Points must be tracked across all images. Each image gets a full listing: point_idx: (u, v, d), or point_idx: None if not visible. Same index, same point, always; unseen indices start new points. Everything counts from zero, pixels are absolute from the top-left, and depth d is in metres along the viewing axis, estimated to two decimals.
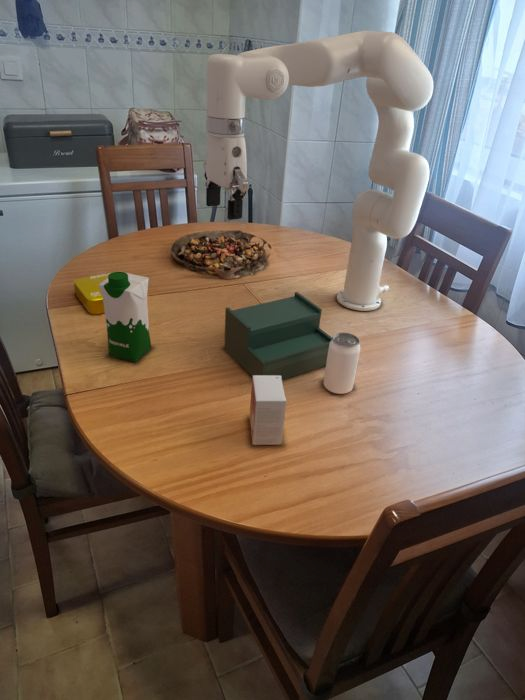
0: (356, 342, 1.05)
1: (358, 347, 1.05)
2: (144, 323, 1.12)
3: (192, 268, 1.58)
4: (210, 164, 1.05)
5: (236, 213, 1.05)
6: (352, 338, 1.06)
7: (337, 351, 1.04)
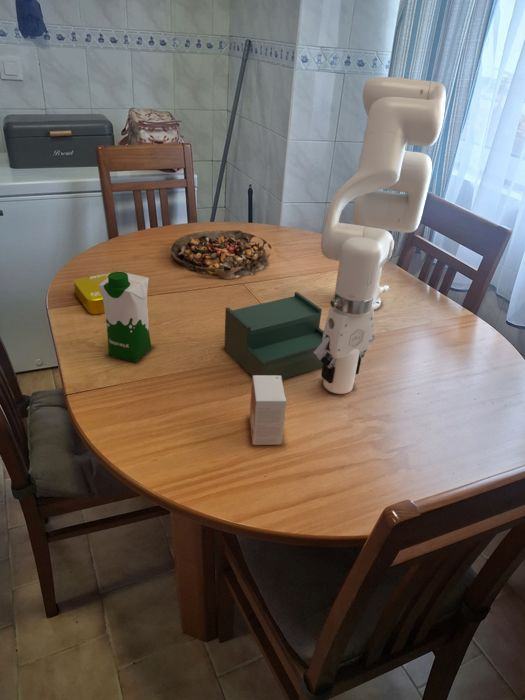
0: None
1: None
2: (144, 323, 1.12)
3: (192, 268, 1.58)
4: None
5: (323, 375, 1.07)
6: None
7: None
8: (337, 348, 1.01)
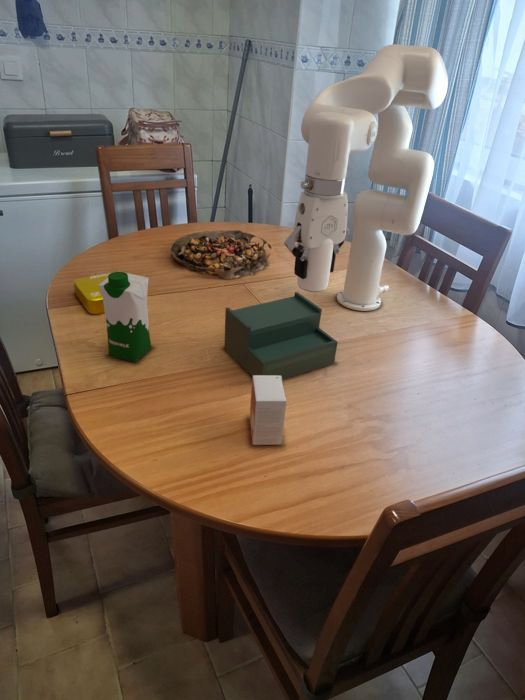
0: None
1: None
2: (144, 323, 1.12)
3: (192, 268, 1.58)
4: None
5: (296, 270, 1.02)
6: None
7: None
8: (309, 235, 0.96)
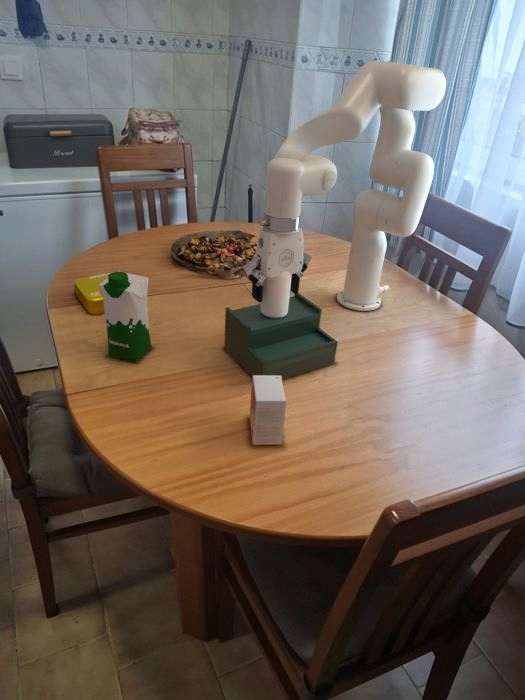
0: None
1: None
2: (144, 323, 1.12)
3: (192, 268, 1.58)
4: None
5: (253, 294, 1.12)
6: None
7: None
8: (267, 267, 1.07)
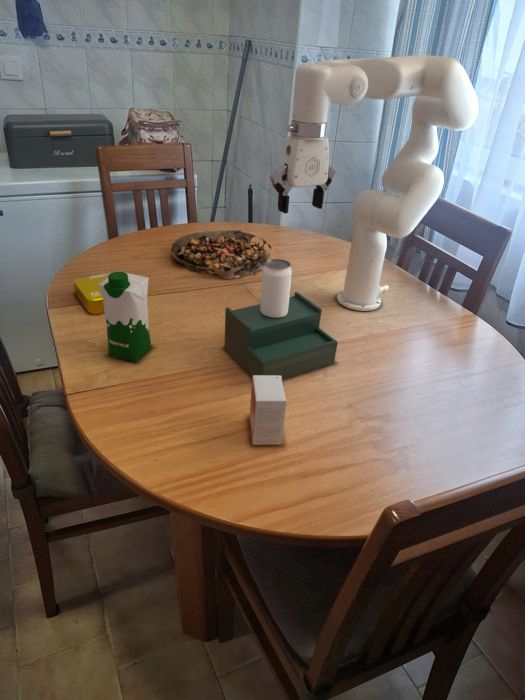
0: (287, 266, 1.11)
1: (289, 270, 1.11)
2: (144, 323, 1.12)
3: (192, 268, 1.58)
4: None
5: (279, 205, 1.15)
6: (284, 263, 1.12)
7: (268, 274, 1.10)
8: (294, 174, 1.09)
